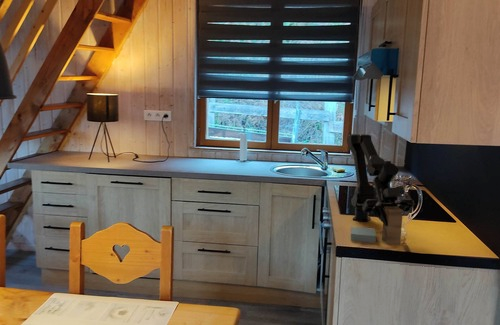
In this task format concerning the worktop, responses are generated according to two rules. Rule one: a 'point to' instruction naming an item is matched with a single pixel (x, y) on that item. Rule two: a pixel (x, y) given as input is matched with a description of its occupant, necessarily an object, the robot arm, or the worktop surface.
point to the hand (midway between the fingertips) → (393, 225)
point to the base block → (363, 234)
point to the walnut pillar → (392, 225)
